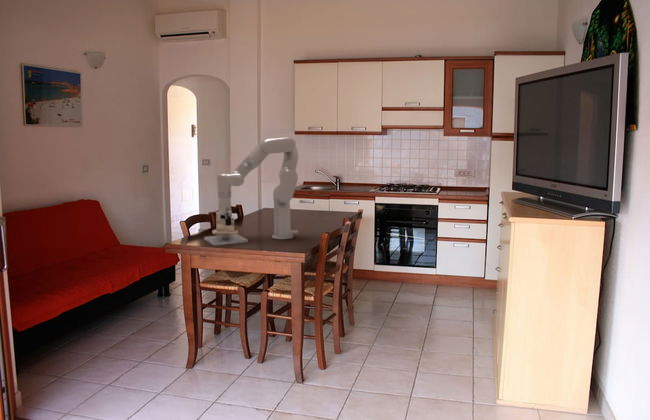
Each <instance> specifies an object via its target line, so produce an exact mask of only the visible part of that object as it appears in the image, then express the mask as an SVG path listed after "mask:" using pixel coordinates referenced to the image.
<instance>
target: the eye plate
mask: <svg viewBox="0 0 650 420" xmlns="http://www.w3.org/2000/svg"><path fill="white" fill-rule="evenodd" d="M203 239H204V241H206V242H208V243H209V244H211V245H212V246H222V245H232V244H242V243H248V241H249V239H247V238H245V237H244V236H242V235H239V234H238V233H237V234H232V235H229V238H222V235H212V236H211V235H209V236H204V238H203Z"/></svg>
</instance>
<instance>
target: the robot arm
mask: <svg viewBox="0 0 650 420" xmlns="http://www.w3.org/2000/svg"><path fill="white" fill-rule="evenodd" d="M296 145H297V143H296V141H295V139H293V137H290V136H289V137H288V136H283V137H277V138H262V139H261V141H260V142H259V143H258V144H257V145H256V146H255V147H254V149H252V150H251V152H250V153H249V154H248V155H247V156H246V157H245V158H244V159H243V160H242V162H240V163H239V164H238V166H237V167H236V168H235V169H234V170H233V171H232V172H231V173H225V172H224V173H218V174H217V176H216V182H217V197H218V211H219V214H220V218H226V219H225V221H226V226H228V225H231V211H232V205H231V204H232V203H231V198H232V187H240V186H242V185H243V184H244V182H245V177H247V175H249V173H250V172H252V171H253V170H255V169H256V168H258V167H259V166H260V165H261V164H262V163H263V161H264V160H265V159H267V157H268V156H269V155H270V154H281V153H283V158H282V164H281V166H280V167H281V168H280V170H279V173H278V178H279V180H280V182H279V185H277V186H275V188H274V189H273V193H272V198H273V199H272V200H273V221H274V222H273V223H274V227H273V228H274V229H273V230H274V234H272V235H271V238H272V239H273V240H274V239H275V240H290V239H293V238H294V234H298V233H299V231H298V230H297V229H296V230H295V229H293V230H292V229H291V203H290V202H291V201H292V199H293V197H294V194H295V191H296V187H297V183H298V173H297V171H296V170H297V166H298V161H299V151H298V148H297V146H296Z"/></svg>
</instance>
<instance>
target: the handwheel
mask: <svg viewBox="0 0 650 420" xmlns="http://www.w3.org/2000/svg"><path fill="white" fill-rule="evenodd" d="M225 219H226V218H219V219H217V218H216V219H215V222H216V224H215V225H216V226H215V227H216V228H215V229H213V230H212V231H211V232H212V235H214V236H219V235H222V238H229V235H232V234H238V233H239V229H238V228H239V227H238V226H235V217H232V218H231V225H228V226H226V221H225Z"/></svg>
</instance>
